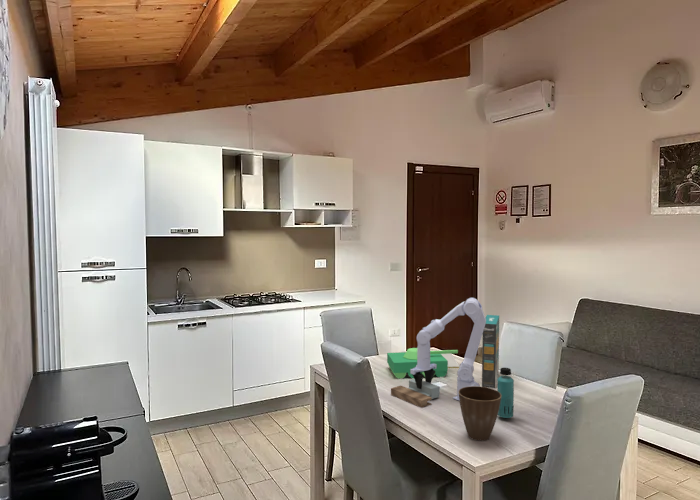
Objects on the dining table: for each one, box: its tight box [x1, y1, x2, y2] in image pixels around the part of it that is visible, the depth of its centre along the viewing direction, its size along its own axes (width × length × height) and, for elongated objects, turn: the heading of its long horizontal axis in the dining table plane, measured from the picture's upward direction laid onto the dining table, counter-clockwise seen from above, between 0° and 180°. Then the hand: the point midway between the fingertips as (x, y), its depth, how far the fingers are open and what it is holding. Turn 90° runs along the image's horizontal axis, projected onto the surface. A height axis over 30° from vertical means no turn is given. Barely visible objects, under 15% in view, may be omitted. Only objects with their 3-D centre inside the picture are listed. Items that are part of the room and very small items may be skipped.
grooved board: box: [390, 385, 433, 408], centre depth 215 cm, size 19×6×3 cm, turn 37°
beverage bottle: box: [496, 367, 515, 419], centre depth 194 cm, size 6×7×20 cm
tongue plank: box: [408, 378, 441, 400], centre depth 220 cm, size 14×6×4 cm, turn 37°
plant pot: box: [458, 386, 501, 442], centre depth 178 cm, size 15×15×16 cm
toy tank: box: [386, 347, 459, 379], centre depth 253 cm, size 18×12×35 cm
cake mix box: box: [481, 314, 500, 389], centre depth 239 cm, size 22×6×30 cm, turn 160°
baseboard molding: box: [441, 349, 460, 369], centre depth 275 cm, size 31×3×12 cm
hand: (423, 387), depth 220 cm, fingers closed on tongue plank, 5 cm apart
